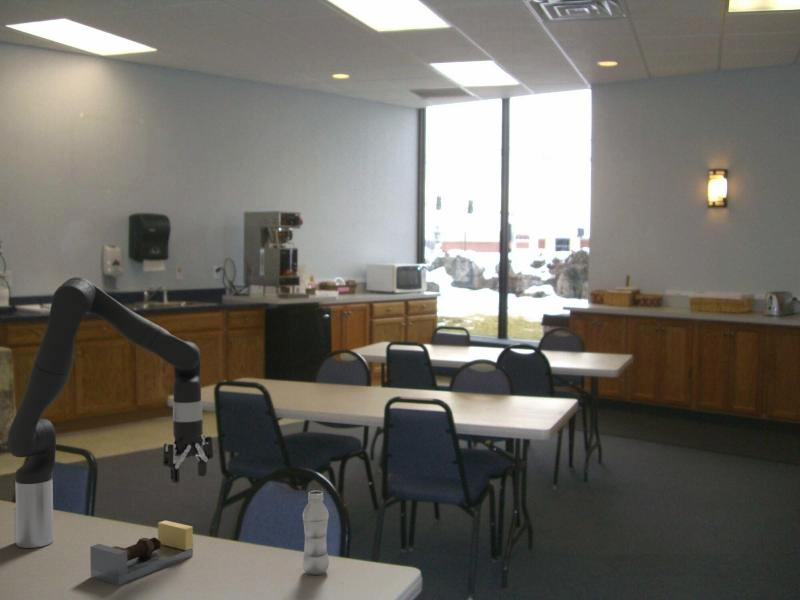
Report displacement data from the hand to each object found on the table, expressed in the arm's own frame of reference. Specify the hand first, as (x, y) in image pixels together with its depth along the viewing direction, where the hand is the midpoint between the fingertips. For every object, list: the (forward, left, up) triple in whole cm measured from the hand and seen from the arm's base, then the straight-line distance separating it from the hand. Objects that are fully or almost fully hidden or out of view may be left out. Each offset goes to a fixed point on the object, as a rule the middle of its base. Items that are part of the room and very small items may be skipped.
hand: (189, 479), depth 230 cm
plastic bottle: (+38, +4, -19) cm, 43 cm away
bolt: (-1, -17, -17) cm, 24 cm away
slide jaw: (-1, -5, -17) cm, 17 cm away
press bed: (-1, -15, -19) cm, 24 cm away
